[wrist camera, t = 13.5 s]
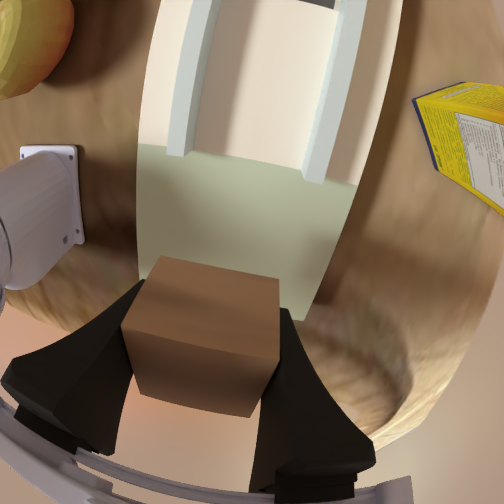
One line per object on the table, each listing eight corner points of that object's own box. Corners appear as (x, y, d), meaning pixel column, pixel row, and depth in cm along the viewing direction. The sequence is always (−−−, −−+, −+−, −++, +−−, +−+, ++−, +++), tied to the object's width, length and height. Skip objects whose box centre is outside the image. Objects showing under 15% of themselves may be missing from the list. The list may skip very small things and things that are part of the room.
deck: (301, 300, 24) (305, 339, 20) (150, 270, 24) (131, 303, 20) (394, -46, 7) (418, -67, 3) (207, -82, 6) (193, -109, 3)
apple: (16, 31, 10) (-43, 36, 3) (88, -27, 8) (27, -46, 2) (25, 108, 15) (-39, 131, 8) (99, 57, 14) (23, 56, 7)
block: (255, 350, 14) (249, 417, 10) (163, 331, 14) (140, 394, 10) (279, 279, 11) (279, 359, 8) (160, 255, 11) (120, 325, 8)
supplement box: (482, 147, 15) (576, 202, 5) (433, 170, 17) (528, 244, 7) (463, 79, 12) (571, 101, 3) (409, 97, 14) (523, 122, 5)
